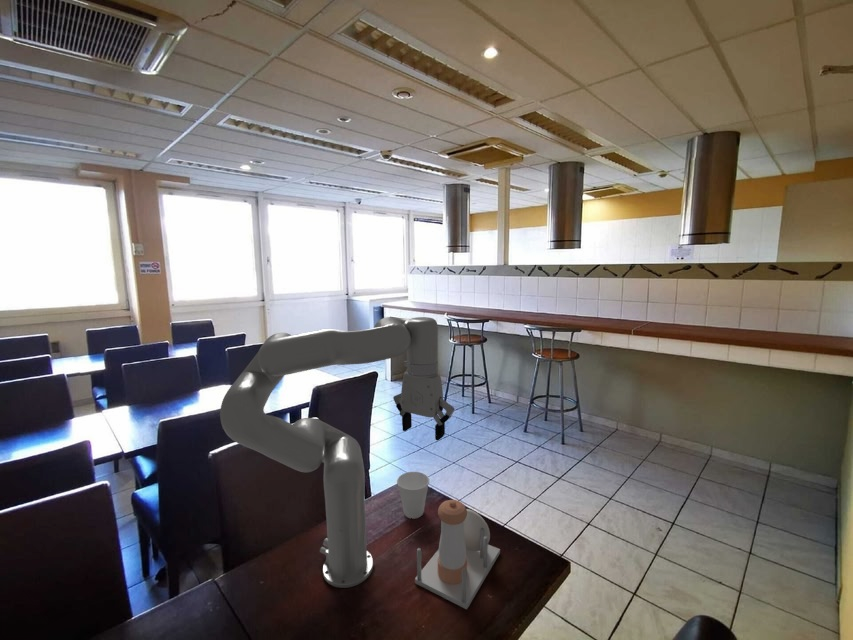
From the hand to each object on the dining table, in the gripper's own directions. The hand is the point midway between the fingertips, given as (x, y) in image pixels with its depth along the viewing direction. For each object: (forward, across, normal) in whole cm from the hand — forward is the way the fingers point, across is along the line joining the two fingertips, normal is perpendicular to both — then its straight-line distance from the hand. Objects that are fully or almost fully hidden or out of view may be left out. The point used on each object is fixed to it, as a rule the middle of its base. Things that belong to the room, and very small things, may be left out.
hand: (423, 433), depth 100 cm
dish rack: (+34, +10, +1) cm, 36 cm away
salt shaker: (+33, +10, -2) cm, 35 cm away
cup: (+34, -12, +13) cm, 39 cm away
